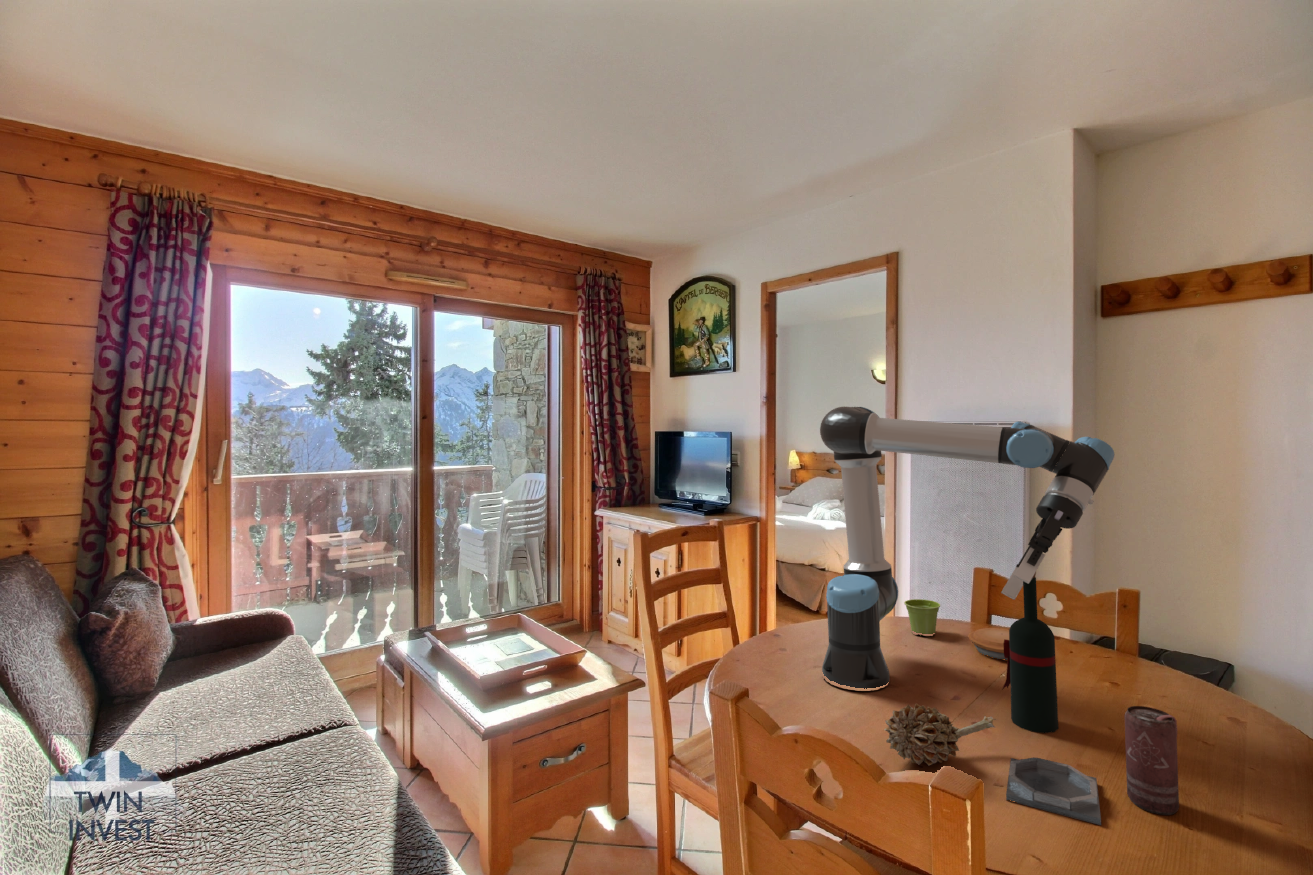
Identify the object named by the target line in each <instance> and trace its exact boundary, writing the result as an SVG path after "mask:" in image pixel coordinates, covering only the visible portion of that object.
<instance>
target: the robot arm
mask: <svg viewBox="0 0 1313 875" xmlns="http://www.w3.org/2000/svg"><path fill="white" fill-rule="evenodd" d="M819 434H820V438H821V441H822V442H823V443H824V445H825V447H827V449H829V450H830V451H832V452H833V460H834V463H836V464H837V465H839V467H840V472H841V482H842V484H841V485H842V492H843V495H842V496H843V506H844V517H845V528H846V529H845V530H846V539H847V552H848V560H847V561H846V562H845V563H844V564H843V575H840V576H839V575H838V576H836V577H834V578H832V579H830V580H829V581H828V583H827V586H826V596H825V597H826V598H825V599H826V608H827V612H826V613H827V629H828V630H827V632H828V646H827V649H826V652H825V657H824V659H823V662H822V666H821V673H822V672H823V674H824V676H826V677H827V678H828V679H829V680H830V681H834V682H836V683H838V684H840V685H846V686H850V687H855V688H864V689H865V688H866V689H867V688H876V687H880V686H883V685H886V684H887V683H888V682H889V680H891V678H890V677H891V676H890V670H889V668H888V664H887V663H886V660H885V657H884V654H883V651H882V649H881V648H882V647H881V630H880V629H881V627H880V626H881V625H880V622H881V621H882V620H883V619H884V618H885V617H886V616H887V615H889V613H890V612H892V611H893V609H894V608H895V606H896V604H897V601H898V598H899V587H898V583H897V582H896V579H895V578H894V577H893V570H892V564H891V563H889V562H888V561H887V559H886V558H885V552H884V551H885V550H884V540H883V527H882V517H881V508H880V507H881V505H880V495H879V484H878V483H879V482H878V472H877V466H878V465H877V464H878V463H879V462H880V461H881V459H882V458H883V456H882V452H889V453H890V452H891V453H897V454H907V455H909V454H910V455H916V456H918V455H919V456H930V457H937V458H945V459H947V458H948V459H955V460H956V459H957V460H964V461H965V460H967V461H974V462H975V461H976V462H985V463H993V464H995V463H996V464H1003V465H1011V466H1018V467H1021V468H1023V469H1036V468H1041V469H1044V470H1047V471H1048V472H1050V473H1053V474H1056V475H1055V476H1054V477H1053V478H1052V480H1051V482H1050V484H1049V485H1048V487H1047V488H1046V491H1045V492H1044V495H1043V496H1042V498H1041V500H1040V501H1039V503H1038V505H1037V506H1036V508H1035V512H1036V514H1037V515H1038V516H1039V518H1040V521H1039V522H1038V524H1037V526H1036V527H1035V530H1034V533H1033V534H1032V536H1031V538H1030V540H1029V542H1028V543H1027V545H1028V547H1027V549H1026V550H1025V552H1024V554H1023V555H1022V557H1021V559H1020V560H1019V562H1018V563H1017V564H1016V566H1015V568H1014V569H1013V571H1012V573H1011V575H1010V577H1009V578H1008V580H1007V582H1006V583H1005V585H1004V587H1003V588H1002V591H1001V592H1000V594H1002V595H1004V596H1006V597H1008V598H1010V599H1011V600H1014V601H1015V600H1016V599H1017V596H1018V595H1019V593H1020V591H1021V590H1022V589H1023V581H1024V582H1026V583H1028V584H1029V582H1030V581H1031V579H1032V577H1033V576H1034V574H1035V572H1036V573H1037V571H1038V569H1039V567H1040V566H1041V563H1042V562H1043V560H1044V558H1045V556H1046V553H1048V552H1049V548H1050V547H1052V546H1053V542H1054V541H1055V540H1057V537H1058V536H1060V534H1061V532H1062V531H1063V529H1074V528H1075V527H1077V525H1078V524H1079V521H1080V520H1081V518H1082V516H1083V514H1084V513H1083V512H1084V511H1085V510H1086V508H1087V506H1088V505H1093V504H1094V499H1092V498H1093V497H1094V495H1095V493H1096V491H1097V490H1098V488H1099V487H1100V485H1101V483H1102V481H1103V479H1105V476H1106V474H1107V473H1108V471H1109V470H1110V467H1111V465H1112V463H1113V460H1114V458H1115V451H1114V448H1113V447H1112V446H1111V445H1110V444H1109V443H1108V442H1106V441H1104V440H1102V439H1100V438H1097V437H1095V438H1094V437H1091V436H1082V437H1081V436H1080V437H1079V438H1077V440H1075V441H1072V440H1068V439H1065V438H1063V437H1060V436H1058V435H1055V434H1053V433H1050V432H1048V431H1046V430H1044V429H1041V428H1039V427H1037V426H1035V425H1033V424H1030V423H1026V422H1023V421H1015V422H1014V423H1013V424H1012V425H1011V426H1010V427H1003V426H989V425H979V424H978V425H977V424H966V423H965V424H963V423H952V422H940V421H929V420H928V421H927V420H926V421H925V420H913V419H901V418H900V419H899V418H890V417H889V418H887V417H886V418H884V417H880V416H879V415H878V414H877V413H876V412H875V411H873V410H871V409H869V408H866V407H863V406H839V407H835V408H833V409H831V410H830V411H829V412H827V413H826V414H825V416H823V418H822V420H821V423H820V427H819Z"/></svg>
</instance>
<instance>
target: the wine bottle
mask: <svg viewBox="0 0 1313 875" xmlns="http://www.w3.org/2000/svg"><path fill="white" fill-rule="evenodd" d="M1036 574H1037V571H1036V572H1035V574H1034V576H1033V577H1032V579H1031V581H1030V582H1029V584H1028V583H1026V582H1024V581H1023V586H1022V589H1023V590H1022V591H1023V592H1022V593H1023V611H1024V612H1023V617H1021V618H1019V619H1017V620H1015V621H1014V622H1013V623H1012V624H1011V625H1010V627H1009V640H1006V639H1004V643H1003V644H1004V657H1005V658H1008V661H1007V662H1006V663H1007V664H1006V665H1007V666H1006V677H1005V682H1004V684H1003V686H1002V689H1001V690H1004V689H1005V688H1007V689H1009V686H1010V714H1011V716H1010V719H1011V721H1012V723H1013V724H1015V725H1016V726H1017V727H1019V728H1020V729H1022V730H1023V729H1024V730H1026V731H1028V732H1029V731H1030V732H1034V733H1041V734H1049V733H1055V732H1056V731H1057V730H1059V710H1058V707H1059V706H1058V687H1057V686H1058V685H1057V665H1056V664H1057V663H1056V643H1055V642H1056V640H1055V634H1054V633H1053V630H1052V629H1051V627H1050V626H1048V625H1047V623H1045V622H1044V621H1042V620H1041V619H1038V598H1037V597H1038V596H1037V591H1038V590H1037V577H1036Z"/></svg>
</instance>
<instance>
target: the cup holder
mask: <svg viewBox="0 0 1313 875" xmlns="http://www.w3.org/2000/svg"><path fill="white" fill-rule="evenodd" d="M1008 768H1009V769H1008V770H1009V771H1008V775H1007V776H1008V777H1007V778H1008V779H1007V784H1006V792H1005V796H1006V797H1005V799H1006V800H1005V801H1007V800H1011V801H1015V802H1017V803H1016V804H1019V805H1022V806H1026V805H1027V807H1030V808H1035V809H1038V810H1042V811H1045V812H1050V813H1052V814H1056V815H1060V816H1064V817H1066V818H1067V817H1068V818H1072V819H1075V820H1079V821H1082V822H1086V823H1090V824H1095V825H1099V826H1102V816H1101V809H1100V799H1099V798H1100V797H1099V790H1098V780H1097V779H1098V778H1097V777H1094V776H1090V775H1087V774H1085V773H1083V772H1081V771H1080V770H1078V769H1077V768H1075V767H1074V766H1071V765H1070V764H1067V763H1062V762H1058V761H1053V760H1050V759H1045V758H1041V757H1028V758H1021V759H1017V758H1013V757H1010V761H1009V767H1008ZM1011 801H1010V802H1011ZM1015 802H1014V803H1015Z"/></svg>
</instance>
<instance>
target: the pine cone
mask: <svg viewBox="0 0 1313 875" xmlns="http://www.w3.org/2000/svg"><path fill="white" fill-rule="evenodd" d="M891 714H892V715H891V716H890V717H889V719H886V720H884V721H885V724H886V725H887V727H885V728H884V729H883V731H885V732H887V733H888V734H889V735H888V738H887V739H886V743H887V744H890V746H889V749H893V750H895V751H896V752H897V755H899V756H900V757H901V758H902V759H903V760H905V759H906V758H907V759H909V760H910V761H911V763H914V764H918V765H919V766H920V765H921V764H922V763H923V762H924V763H925V764H927V765H928V766H932V765H933V764H936V763H938V762H939V763H941V764H942V763H943V761H945V762H947V761H948V760H949V759H948V758H949V755H951V756H953V757H956V756H957V751H958V752H959V751H960V750H959V746H958V744H957V742H959V739H960V738H962V737H965V736H968V735H971V734H973V733H978V732H980V731H983V730H985V729H991V728H996V726H995V725H994V724H993V722H994V721H997V719H996V718H993V716H986V715H985V716H984V717H983V719H982V720H980V721H978V722H975V723H974V724H971V725H967V726H964V727H962V728H959V727H955V725H954V723H952V721H951V720H950V717H949V716H947V715H946V714H945V713H941V712H940V711H939V710H938V709H937V708H936V707H932V708H931V707H929V706H927V708H926V706H925V705H920V704H918V703H915V704H914V707H912V706H911V705H910V704H907V705H906V706H904V707H903V708H900V709H899V710H892V713H891ZM953 725H954V726H953Z"/></svg>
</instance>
